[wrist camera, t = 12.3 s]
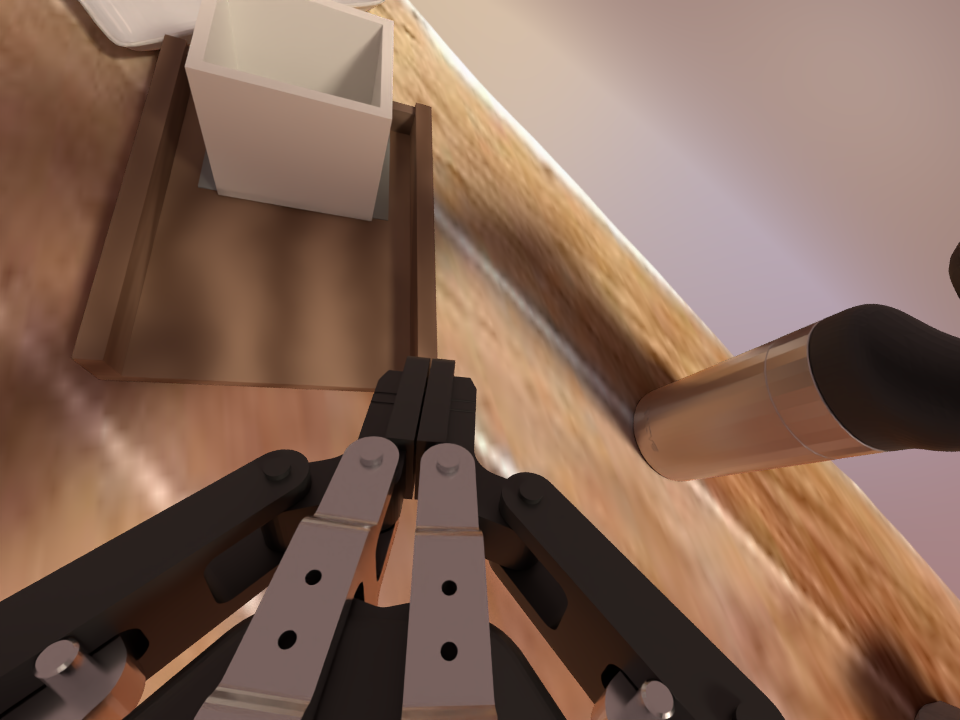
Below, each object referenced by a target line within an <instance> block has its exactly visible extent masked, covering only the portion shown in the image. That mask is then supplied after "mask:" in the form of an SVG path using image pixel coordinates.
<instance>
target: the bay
mask: <svg viewBox="0 0 960 720" xmlns="http://www.w3.org/2000/svg"><path fill="white" fill-rule="evenodd" d="M189 48H190V46H188V44H187V40H185V39H181V38H177V37H174V36H170V35H166V34H165V36H164V39H163V43H162V46H161V49H160V53H159V56H158V60H157V63H156V67H155V70H154V74H153V77H152V81H151V84H150V88H149V91H148V94H147V98H146V101H145V105H144V108H143V112H142V115H141V119H140V122H139V126H138V129H137V132H136V136H135V139H134V143H133V146H132V150H131V153H130V157H129V160H128V164H127V167H126V170H125V174H124V177H123V181H122V184H121V188H120V191H119V195H118V198H117V202H116V205H115V209H114V212H113V215H112V219H111V222H110V226H109V229H108V233H107V236H106V240H105V243H104V247H103V250H102V253H101V257H100V260H99V264H98V267H97V271H96V274H95V278H94V281H93V285H92V288H91V291H90V295H89V298H88V302H87V305H86V309H85V312H84V316H83V319H82V323H81V326H80V329H79V333H78V336H77V340H76V343H75V347H74V350H73V354H72V357H71V359H73V360H74V361H75V362H77V363H78V364H79V365H81V366H82V367H83V368H85V369H86V370H87V371H89V372H90V373H91V374H93V375H94V376H95V377H97V378H98V379H99V380H118V381H140V382H162V383H184V384H206V385H228V386H251V387H273V388H295V389H317V390H339V391H361V392H374V391H375V388H376V385H377V382H378V380H379V379H380V378H381V377H382V376H383V375H384V374H385V373H386V372H387V371H388V370H394V371H403V370H404V366H405V362H406V359H407V356H415V357H425V358H431V363H432V359H433V358H436V359H437V321H436V280H435V239H434V198H433V157H432V116H431V107H430V106H426V105H423V104H419V103H416V105H415V107H413V106H409V105H405V104H402V103H398V102H394V101H392V123H391V128H390V133H389V137H388V142H387V147H386V152H385V157H384V162H383V167H382V172H381V177H380V182H379V187H378V191H377V196H376V201H375V206H374V211H373V216H372V221H367V220H361V219H355V218H350V217H344V216H338V215H332V214H327V213H321V212H315V211H309V210H304V209H298V208H292V207H286V206H281V205H275V204H269V203H263V202H258V201H252V200H246V199H240V198H235V197H229V196H223V195H218V192H217V188H216V184H215V181H214V177H213V173H212V169H211V165H210V161H209V158H208V154H207V150H206V146H205V142H204V139H203V135H202V131H201V127H200V123H199V119H198V116H197V112H196V108H195V104H194V100H193V96H192V93H191V89H190V85H189V81H188V77H187V74H186V70H185V63H186V60H187V56H188V52H189Z"/></svg>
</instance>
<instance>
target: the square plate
mask: <svg viewBox="0 0 960 720" xmlns="http://www.w3.org/2000/svg"><path fill="white" fill-rule="evenodd" d="M78 1H79V2H80V3H81V5H82V6H83V8H84V9H85V10H86V12H87V13H88V14H89V15H90V17H91V18H92V20H93V21H94V22H95V24H96V25H97V26H98V27H99V28H100V29H101V31H102V32H103V33H104V34H105V35H106V36H107V37H108V39H109V40H111V41H112V42H113V43H114V44H116V45H118V46H122V47H127V48H129V49H131V50H135V51H151V50H159V49H161V46H162V43H163V39H164V36H165V34H166V35H170V36H174V37H177V38H181V39H185V40H187V44H191V40H192V36H193V32H194V28H195V24H196V20H197V17H198V13H199V9H200V5H201V1H202V0H78ZM332 1H335V2H338V3H341V4H344V5H347V6H350V7H353V8H356V9H359V10H362V11H365V12H366V11H368V10H370V9H372V8H374V7H376V6H377V5H379V4H382V3H384V1H385V0H332Z"/></svg>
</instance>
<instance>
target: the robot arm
mask: <svg viewBox="0 0 960 720" xmlns="http://www.w3.org/2000/svg"><path fill="white" fill-rule="evenodd" d="M949 275H950V279H951V282H952V284H953V287H954V288H955V291H956V293H957V295H958V297H959V298H960V242H959V244H958V245H957V247H956V249H955V250H954V252H953V254H952V256H951V258H950V264H949ZM454 369H455V360H446V359H436V358H433V359H432V363H431V358H425V357H415V356H407V359H406V362H405V366H404V370H403V371H394V370H388V371H387V372H386V373H385V374H384V375H383V376H382V377H381V378H380V379H379V380H378V382H377V385H376V388H375V391H374V394H373V397H372V400H371V403H370V406H369V409H368V412H367V415H366V418H365V421H364V423H363V426H362V429H361V432H360V435H359V438H358V440H356V441H355V442H353V443H352V444H351V445H349V446H348V447H347V449H346V450H345V452H344V454H343V455H340V456H338V457H335V458H332V459H328V460H322V461H316V462H310V463H308V460H307V458H306V457H305V456H304V455H303V454H301V453H299V452H297V451H294V450H276V451H272V452H269V453H267V454H265V455H263V456H261V457H259V458H257V459H255V460H254V461H252V462H250V463H248V464H246V465H245V466H243V467H241V468H239V469H237V470H236V471H234V472H232V473H230V474H228V475H227V476H225V477H223V478H221V479H219V480H218V481H216V482H214V483H212V484H211V485H209V486H207V487H205V488H203V489H202V490H200V491H198V492H196V493H194V494H193V495H191V496H189V497H187V498H185V499H184V500H182V501H180V502H178V503H176V504H175V505H173V506H171V507H169V508H168V509H166V510H164V511H162V512H160V513H159V514H157V515H155V516H153V517H151V518H150V519H148V520H146V521H144V522H142V523H141V524H139V525H137V526H135V527H133V528H132V529H130V530H128V531H126V532H125V533H123V534H121V535H119V536H117V537H116V538H114V539H112V540H110V541H108V542H107V543H105V544H103V545H101V546H99V547H98V548H96V549H94V550H92V551H90V552H89V553H87V554H85V555H83V556H82V557H80V558H78V559H76V560H74V561H73V562H71V563H69V564H67V565H65V566H64V567H62V568H60V569H58V570H56V571H55V572H53V573H51V574H49V575H47V576H46V577H44V578H42V579H40V580H39V581H37V582H35V583H33V584H31V585H30V586H28V587H26V588H24V589H22V590H21V591H19V592H17V593H15V594H13V595H12V596H10V597H8V598H6V599H4V600H3V601H1V602H0V720H567V719H566V718H565V716H564V715H563V713H562V712H561V710H560V709H559V707H558V706H557V704H556V703H555V701H554V700H553V698H552V697H551V695H550V694H549V692H548V691H547V689H546V688H545V686H544V685H543V683H542V682H541V680H540V679H539V677H538V676H537V674H536V673H535V671H534V670H533V668H532V667H531V665H530V664H529V662H528V661H527V659H526V658H525V656H524V655H523V653H522V652H521V650H520V649H519V648H518V647H517V645H516V644H515V643H514V642H513V641H512V640H511V639H510V638H509V637H508V636H507V635H506V634H505V633H504V632H503V631H501V630H500V629H499V628H497V627H496V626H494V625H493V624H491V623H489V615H488V600H487V585H486V570H485V559H487V560H489V564H490V566H491V568H492V570H493V571H494V572H495V574H496V575H497V576H498V578H499V579H500V580H501V582H502V583H503V584H504V586H505V587H506V588H507V590H508V591H509V592H510V593H511V595H512V596H513V597H514V599H515V600H516V601H517V603H518V604H519V605H520V607H521V608H522V609H523V611H524V612H525V613H526V615H527V616H528V617H529V619H530V620H531V621H532V622H533V624H534V625H535V626H536V628H537V629H538V630H539V632H540V633H541V634H542V636H543V637H544V638H545V640H546V641H547V642H548V644H549V645H550V646H551V648H552V649H553V650H554V651H555V653H556V654H557V655H558V657H559V658H560V659H561V661H562V662H563V663H564V665H565V666H566V667H567V669H568V670H569V671H570V673H571V674H572V675H573V677H574V678H575V679H576V680H577V682H578V683H579V684H580V686H581V687H582V688H583V690H584V691H585V692H586V694H587V695H588V696H589V698H590V699H591V700H592V702H593V703H594V704H595V705H594V707H593V710H592V713H591V720H785V719H784V717H783V716H782V714H781V713H780V711H779V710H778V709H777V707H776V706H775V705H774V704H773V703H772V702H771V701H770V699H769V698H768V697H767V696H766V695H765V694H764V693H763V692H762V691H761V690H760V689H759V688H758V687H757V686H756V685H755V684H754V683H752V682H751V681H750V680H749V679H748V678H747V677H746V676H745V675H744V674H743V673H742V672H741V671H740V670H739V669H738V668H737V667H736V666H735V665H734V664H733V663H732V662H731V661H730V660H729V659H728V658H727V657H726V656H725V655H724V654H723V653H722V652H721V651H720V650H719V649H718V648H717V647H716V646H715V645H714V644H713V643H712V642H711V641H710V640H709V639H708V638H707V637H706V636H705V635H704V634H703V633H702V632H701V631H700V630H699V629H698V628H697V627H696V626H695V625H694V624H693V623H692V622H691V621H690V620H689V619H688V618H687V617H686V616H685V615H684V614H683V613H682V612H681V611H680V610H679V609H678V608H677V607H676V606H675V605H674V604H673V603H672V602H671V601H670V600H669V599H668V598H667V597H666V596H665V595H664V594H663V593H662V592H661V591H660V590H658V589H657V588H656V587H655V586H654V585H653V584H652V583H651V582H650V581H649V580H648V579H647V578H646V577H645V576H644V575H643V574H642V573H641V572H640V571H639V570H638V569H637V568H636V567H635V566H634V565H633V564H632V563H631V562H630V561H629V560H628V559H627V558H626V557H625V556H624V555H623V554H622V553H621V552H620V551H619V550H618V549H617V548H616V547H615V546H614V545H613V544H612V543H611V542H610V541H609V540H608V539H607V538H606V537H605V536H604V535H603V534H602V533H601V532H600V531H599V530H598V529H597V528H596V527H595V526H594V525H593V524H592V523H591V522H590V521H589V520H588V519H587V518H586V517H585V516H584V515H583V514H582V513H581V512H580V511H579V510H578V509H577V508H576V507H575V506H574V505H573V504H572V503H571V502H570V501H569V500H568V499H567V498H565V497H564V496H563V495H562V494H561V493H560V492H559V491H558V490H557V489H556V488H555V487H554V486H553V485H552V484H551V483H550V482H549V481H548V480H547V479H545V478H544V477H542V476H540V475H537V474H534V473H529V472H522V473H517V474H514V475H512V476H510V477H509V478H508V479H506V478H503V477H500V476H498V475H495V474H493V473H491V472H489V471H487V470H486V469H485V468H483V467H482V466H481V465H480V463H479V462H478V461H477V459H476V457H475V453H474V438H475V412H476V390H477V389H476V387H475V386H474V384H473V382H472V380H471V378H465V377H455V376H454ZM633 424H634V434H635V437H636V441H637V444H638V446H639V449H640V451H641V453H642V455H643V456H644V458H645V459H646V461H647V462H648V463H649V464H650V465H651V467H652V468H653V469H654V470H656V471H657V472H658V473H659V474H661V475H662V476H664V477H666V478H668V479H670V480H675V481H690V480H697V479H704V478H711V477H719V476H726V475H733V474H740V473H747V472H753V471H760V470H767V469H774V468H781V467H788V466H794V465H801V464H808V463H815V462H822V461H829V460H835V459H841V458H847V457H854V456H861V455H868V454H875V453H881V452H888V451H898V450H905V449H914V448H915V449H925V450H933V451H946V452H948V451H951V452H954V451H955V452H956V451H960V338H957V337H954V336H952V335H949V334H946V333H944V332H941V331H939V330H937V329H935V328H933V327H931V326H929V325H927V324H925V323H923V322H921V321H920V320H918V319H916V318H914V317H912V316H910V315H908V314H906V313H904V312H902V311H900V310H898V309H895V308H892V307H889V306H885V305H879V304H864V305H859V306H855V307H852V308H849V309H846V310H844V311H842V312H839V313H837V314H835V315H832V316H830V317H827V318H825V319H823V320H821V321H818V322H816V323H813V324H811V325H809V326H806V327H804V328H801V329H799V330H797V331H794V332H792V333H790V334H787V335H785V336H782V337H780V338H778V339H776V340H773V341H771V342H768V343H766V344H764V345H761V346H759V347H757V348H754V349H752V350H749V351H747V352H745V353H742V354H740V355H738V356H735V357H733V358H730V359H728V360H725V361H723V362H721V363H718V364H716V365H714V366H711V367H709V368H706V369H704V370H702V371H699V372H697V373H694V374H692V375H690V376H687V377H685V378H683V379H680V380H677V381H675V382H673V383H670V384H668V385H666V386H663V387H661V388H658V389H656V390H654V391H651V392H650V393H648V394H646V395H645V396H644V397H643V398H642V399H641V400H640V402H639V403H638V405H637V407H636V410H635V413H634V423H633ZM414 485H415V499H417V500H418V506H417V520H416V530H415V542H414V555H413V569H412V583H411V597H410V603H406V604H401V605H396V606H391V607H377V605H378V597H379V592H380V588H381V584H382V580H383V577H384V573H385V570H386V566H387V563H388V559H389V556H390V552H391V548H392V545H393V541H394V538H395V534H396V531H397V527H398V523H399V516H400V513H401V509H402V504H403V498H404V499H412V497H413V491H414ZM266 587H268V588H267V590H266V592H265V594H264V596H263V598H262V600H261V602H260V604H259V606H258V608H257V610H256V612H255V614H254V615H252V616H250V617H248V618H246V619H244V620H243V621H241V622H240V623H238V624H237V625H235V626H234V627H233V628H231V629H230V630H229V631H227V632H226V633H225V634H224V635H222V636H221V637H220V638H219V639H218V640H216V641H215V642H214V643H213V644H212V645H210V646H209V647H208V648H207V649H206V650H205V651H203V652H202V653H201V654H200V655H199V656H197V657H196V658H195V659H194V660H193V661H191V662H190V663H189V664H188V665H187V666H185V667H184V668H183V669H182V670H181V671H179V672H178V673H177V674H176V675H175V676H173V677H172V678H171V679H170V680H169V681H167V682H166V683H165V684H164V685H163V686H161V687H160V688H159V689H158V690H157V691H155V692H154V693H153V694H152V695H151V696H149V697H148V698H147V699H146V700H145V701H143V702H142V703H141V704H140V705H139V706H137V704H138V702H139V701H140V699H141V696H142V694H143V691H144V687H145V681H146V680H148V679H149V678H150V677H151V676H153V675H154V674H155V673H157V672H158V671H159V670H160V669H162V668H163V667H164V666H166V665H167V664H168V663H170V662H171V661H172V660H173V659H175V658H176V657H177V656H179V655H180V654H181V653H182V652H184V651H185V650H186V649H188V648H189V647H190V646H191V645H193V644H194V643H195V642H197V641H198V640H199V639H201V638H202V637H203V636H204V635H206V634H207V633H208V632H210V631H211V630H212V629H213V628H215V627H216V626H217V625H219V624H220V623H221V622H223V621H224V620H225V619H226V618H228V617H229V616H230V615H232V614H233V613H234V612H235V611H237V610H238V609H239V608H241V607H242V606H243V605H245V604H246V603H247V602H248V601H250V600H251V599H252V598H254V597H255V596H256V595H257V594H259V593H260V592H261V591H263V590H264V589H265V588H266ZM136 706H137V707H136ZM135 707H136V708H135Z"/></svg>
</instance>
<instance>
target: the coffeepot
mask: <svg viewBox="0 0 960 720" xmlns="http://www.w3.org/2000/svg"><path fill="white" fill-rule="evenodd" d="M915 720H960V709H959V708H957V707H954V706H952V705H949V704H947V703H944V702H942V701H938V702H934V703H930V704H926V705H925V706H923V707H922V708H921V709H920V710H919V712H918V714H917V716H916V719H915Z"/></svg>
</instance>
